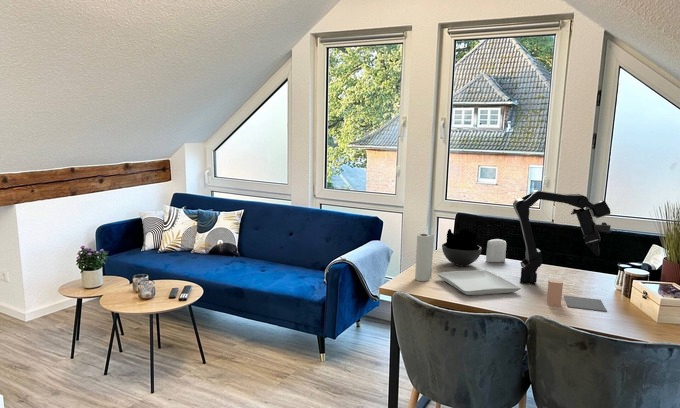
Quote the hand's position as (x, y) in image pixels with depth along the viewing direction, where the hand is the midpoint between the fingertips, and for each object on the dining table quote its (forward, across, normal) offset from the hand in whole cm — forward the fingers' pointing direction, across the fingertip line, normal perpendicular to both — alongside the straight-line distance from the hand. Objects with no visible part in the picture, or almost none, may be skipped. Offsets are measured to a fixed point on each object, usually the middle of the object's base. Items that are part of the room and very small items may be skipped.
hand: (598, 255), depth 214 cm
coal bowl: (-11, +9, +63) cm, 65 cm away
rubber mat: (+15, -22, +10) cm, 29 cm away
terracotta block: (+12, -29, +21) cm, 38 cm away
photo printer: (-7, +26, +49) cm, 56 cm away
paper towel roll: (-11, -27, +72) cm, 78 cm away
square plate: (-1, -23, +51) cm, 56 cm away
